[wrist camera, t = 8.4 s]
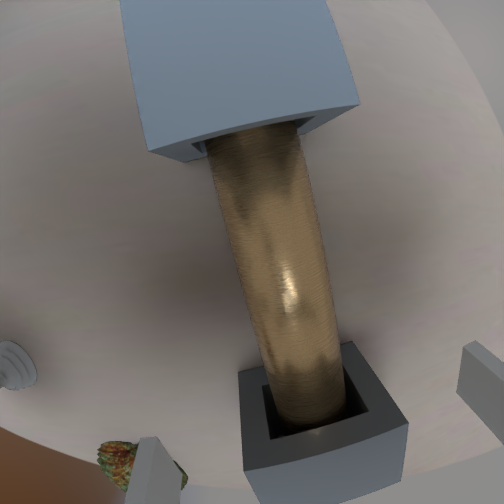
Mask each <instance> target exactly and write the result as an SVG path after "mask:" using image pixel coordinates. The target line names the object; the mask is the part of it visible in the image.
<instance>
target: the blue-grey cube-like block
mask: <svg viewBox="0 0 504 504" xmlns="http://www.w3.org/2000/svg"><path fill="white" fill-rule="evenodd" d="M120 8H121V15H122V22H123V28H124V35H125V41H126V47H127V53H128V58H129V64H130V69H131V75H132V80H133V85H134V90H135V95H136V100H137V105H138V109H139V114H140V119H141V123H142V128H143V132H144V136H145V141H146V145H147V149H148V151H149V152H152V153H156V154H159V155H162V156H165V157H169V158H172V159H175V160H178V161H181V162H187V161H191V160H194V159H198V158H201V157H205V156H207V152H206V148H205V144H204V140H206V139H210V138H213V137H217V136H221V135H225V134H229V133H233V132H237V131H242V130H246V129H250V128H255V127H259V126H264V125H269V124H273V123H278V122H283V121H288V120H294V119H295V123H296V127H297V131H298V135H300V134H305V133H308V132H310V131H311V130H313V129H315V128H317V127H319V126H320V125H322V124H324V123H326V122H328V121H330V120H331V119H333V118H335V117H337V116H339V115H341V114H343V113H344V112H346V111H348V110H350V109H352V108H354V107H356V106H358V105H360V101H359V97H358V94H357V90H356V87H355V84H354V80H353V77H352V74H351V70H350V67H349V64H348V61H347V58H346V55H345V52H344V49H343V46H342V43H341V41H340V38H339V35H338V32H337V29H336V27H335V24H334V21H333V19H332V16H331V14H330V11H329V9H328V6H327V4H326V1H325V0H120Z"/></svg>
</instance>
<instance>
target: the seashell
mask: <svg viewBox="0 0 504 504" xmlns="http://www.w3.org/2000/svg"><path fill="white" fill-rule="evenodd" d="M137 449H138V445H133V444H132V443H128V442H122V441H109V442H106V443H103V444H101V448H99V449H97V450H98V451H99V453H98V454H97V455H98V456H99V457H100V458H98V459H97V461H98V463H99V464H100V467H101V470H102V471H103V472H104V473H105V474H106V475H107V477H108V478H109V480H110V481H112V482H114V484H115V485H116V486H117V487H118V488H121V490H123V491H124V492H127V490H128V486H129V481H130V477H131V473H132V469H133V465H134V461H135V457H136V453H137ZM174 463H175V464H176V466H177V467H178V469H179V470H180V471H181V473H182V483H181V490H182V489H183V488H184V486H185V485H186V484H187V480H188V477H187V475H186V473H185V472H184V471H183V470H182V469H181V468H180V467H179V466H178V464H177V463H176V462H175V461H174Z"/></svg>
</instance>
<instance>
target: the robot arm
mask: <svg viewBox="0 0 504 504" xmlns="http://www.w3.org/2000/svg"><path fill="white" fill-rule="evenodd" d="M456 393H457V394H458V395H459V396H460V397H461V398H462V399H463V400H464V401H465V402H466V403H467V405H468V406H469V407H470V408H471V409H472V410H473V411H474V412H475V413H476V414H477V415H478V417H479V418H480V419H481V420H482V421H483V422H484V423H485V424H486V425H487V427H488V428H489V429H490V430H491V431H492V432H493V433H494V434H495V436H496V437H497V438H498V439H499V440H500V441H501V442H502V444H503V445H504V362H502V361H501V360H500V359H499V358H497V357H496V356H495V355H494V354H492V353H491V352H490V351H489V350H487V349H486V348H485V347H483V346H482V345H481V344H480V343H478V342H477V341H476V340H475V341H473V342H471V343H469V344H467V345H465V346H463V351H462V359H461V366H460V373H459V379H458V385H457V390H456ZM181 483H182V473H181V471H180V470H179V469H178V467H177V466H176V464H175V463H174V461H173V460H172V459H171V457H170V456H169V454H168V453H167V451H166V450H165V448H164V447H163V445H162V444H161V442H160V440H159V439H158V437H147V438H140V441H139V445H138V449H137V453H136V457H135V461H134V465H133V469H132V473H131V477H130V481H129V486H128V490H127V494H126V499H125V503H124V504H180V495H181Z"/></svg>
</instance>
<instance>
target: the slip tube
mask: <svg viewBox="0 0 504 504" xmlns="http://www.w3.org/2000/svg"><path fill="white" fill-rule="evenodd" d="M204 144H205V148H206V152H207V156H208V160H209V164H210V167H211V171H212V175H213V179H214V183H215V187H216V191H217V195H218V199H219V202H220V206H221V210H222V214H223V218H224V221H225V225H226V229H227V233H228V237H229V240H230V244H231V248H232V251H233V255H234V259H235V263H236V266H237V270H238V274H239V277H240V281H241V285H242V288H243V292H244V296H245V299H246V303H247V307H248V310H249V314H250V317H251V321H252V325H253V328H254V332H255V335H256V339H257V342H258V346H259V349H260V353H261V357H262V360H263V364H264V367H265V371H266V374H267V378H268V381H269V384H270V388H271V391H272V395H273V398H274V402H275V405H276V408H277V412H278V415H279V419H280V422H281V425H282V429H283V432H284V436H290V435H294V434H297V433H301V432H305V431H309V430H312V429H316V428H320V427H323V426H326V425H330V424H333V423H336V422H339V421H342V420H346V419H348V411H347V401H346V392H345V383H344V374H343V366H342V359H341V351H340V344H339V337H338V330H337V323H336V316H335V310H334V304H333V298H332V292H331V286H330V280H329V274H328V269H327V263H326V258H325V252H324V247H323V242H322V237H321V232H320V227H319V222H318V217H317V212H316V207H315V203H314V198H313V194H312V189H311V185H310V180H309V176H308V172H307V167H306V163H305V159H304V155H303V151H302V147H301V143H300V139H299V135H298V131H297V127H296V123H295V119H294V120H288V121H283V122H278V123H273V124H269V125H264V126H259V127H255V128H250V129H246V130H242V131H237V132H233V133H229V134H225V135H221V136H217V137H213V138H210V139H206V140H204Z"/></svg>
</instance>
